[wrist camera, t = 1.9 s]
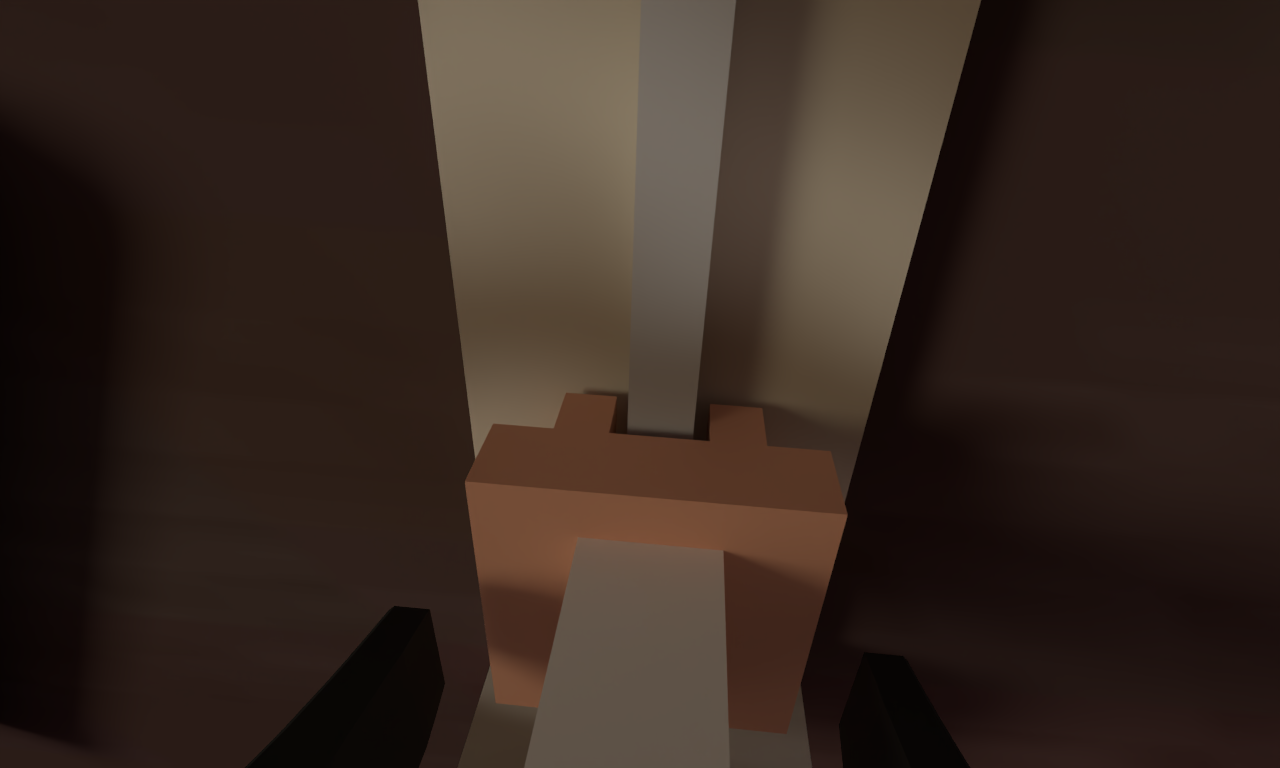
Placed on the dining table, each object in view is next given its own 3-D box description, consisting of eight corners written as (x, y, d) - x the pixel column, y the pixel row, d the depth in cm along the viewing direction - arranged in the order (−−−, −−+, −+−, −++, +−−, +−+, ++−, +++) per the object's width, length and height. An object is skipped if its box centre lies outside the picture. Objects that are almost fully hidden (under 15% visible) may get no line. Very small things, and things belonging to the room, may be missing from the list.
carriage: (774, 618, 15) (824, 1093, 9) (527, 595, 16) (397, 1034, 9) (820, 412, 12) (953, 912, 6) (510, 388, 13) (293, 832, 6)
